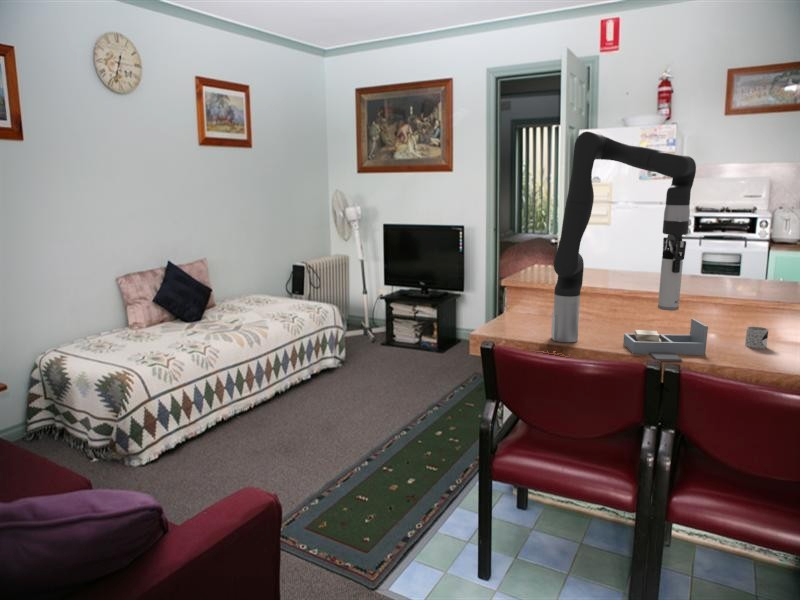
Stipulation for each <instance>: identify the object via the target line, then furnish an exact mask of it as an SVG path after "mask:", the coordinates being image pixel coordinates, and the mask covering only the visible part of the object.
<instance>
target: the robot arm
mask: <svg viewBox="0 0 800 600" xmlns="http://www.w3.org/2000/svg"><path fill="white" fill-rule="evenodd" d="M572 156H573V157H572V170H571V175H570V181H569V186H568V192H567V195H566V196H567V198H566V200H565V201H566V202H565V207H564V213H563V219H562V226H561V234H560V238H559V242H558V246H557V249H556V253H555V255H554V258H553V270H554V272H555V273H556V275H557V279H556V284H555V286H554V295H553V296H554V297H553V312H552V315H551V336H550V337H551V340H553V342H559V343H576V342H577V341H579V323H580V303H581V302H580V301H581V290H582V287H583V281H584V279H583V278H584V266H585V265H584V262H585V261H584V259H583V256H582V255H581V253H580V247H581V241H582V239H583V237H584V234H585V231H586V229H587V227H588V225H589V223H590V219H591V216H592V212H593V211H592V210H593V206H594V201H595V200H594V199H595V198H594V197H595V195H594V193H595V192H594V187H593V178H592V174H593V168H594V164H595V160H602V161H603V160H604V161H614V162H618V163H621V164H625V165H627V166H630V167H633V168H636V169H639V170H644V171H648V172H652V173H656V174H659V175H663V176H665V177H669V178H672V180H671V185H670V186H669V187H668V188H667V190H666V195H665V208H664V212H663V223H662V225H663V226H662V233H663V235H667V236H666V237H663V241H662V243H663V244H662V252H663V251H664V250H666V251H668V250H670V251H671V254H672V255H673V256H672V257H673V262H672V272H673V273H679V272H680V261H682V260H683V261H684V260H685V255H686V249H687V241H686V240H683V236H684V235H685V236H687V235H688V233H689V225H690V216H691V215H690V214H691V213H690V212H691V210H690V209H691V208H690V207H691V206H690V205H691V192H692V188H693V186H694V181H695V178H696V172H697V164H696V161H695V159H694V158H693V157H691V156H689V155H679V154H675V153H668V152H664V151H662V150H659V149H655V148H651V147H647V146H641V145H636V144H635V145H633V144H628V143H623V142H621V141H618V140H615V139H612V138H610V137H608V136H605V135H603V134H601V133H599V132H594V131H583V132H582V133H580V134H579V135H578V136H577V138H576V140H575V142H574V146H573V155H572ZM678 254H679V256H678Z"/></svg>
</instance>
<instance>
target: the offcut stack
mask: <svg viewBox="0 0 800 600" xmlns="http://www.w3.org/2000/svg"><path fill="white" fill-rule="evenodd" d="M634 334H635V337H636V341H640V342H662V341H661V340H660V338H659V334H660V333H658V331H657V330H647V329H646V330H645V329H634Z"/></svg>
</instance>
